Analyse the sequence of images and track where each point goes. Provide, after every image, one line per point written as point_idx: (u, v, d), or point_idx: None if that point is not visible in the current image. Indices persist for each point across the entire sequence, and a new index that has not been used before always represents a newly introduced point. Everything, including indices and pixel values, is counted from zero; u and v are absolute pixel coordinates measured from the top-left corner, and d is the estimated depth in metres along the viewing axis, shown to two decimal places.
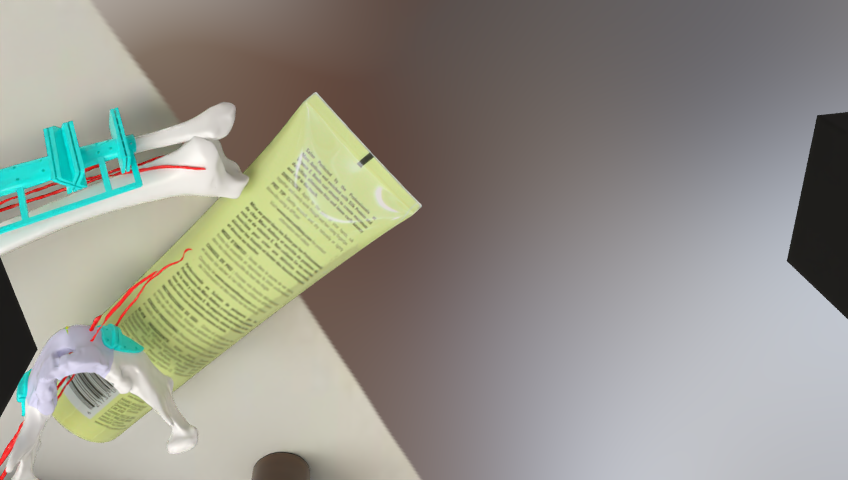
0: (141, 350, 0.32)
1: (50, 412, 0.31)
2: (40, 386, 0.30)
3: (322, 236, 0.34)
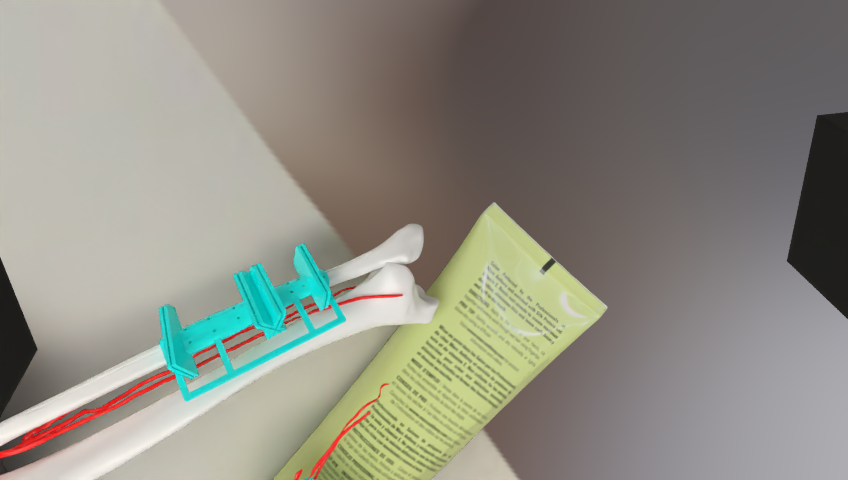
0: None
1: None
2: None
3: (514, 353, 0.32)
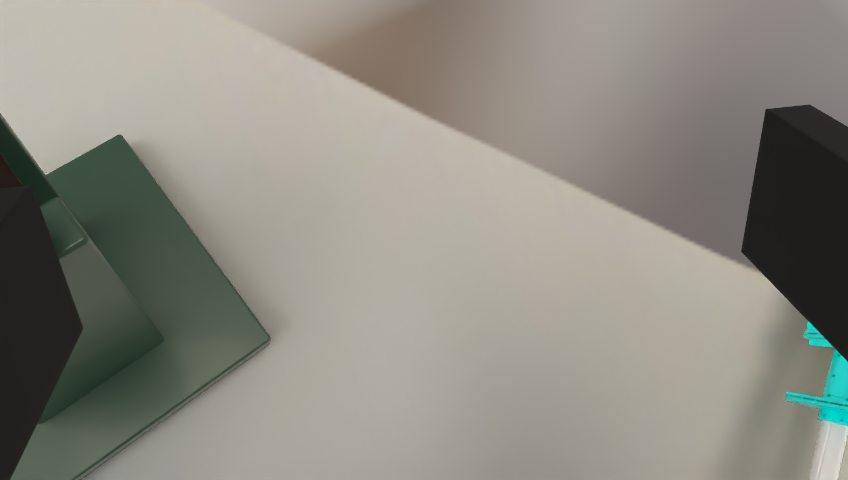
0: None
1: None
2: None
3: None
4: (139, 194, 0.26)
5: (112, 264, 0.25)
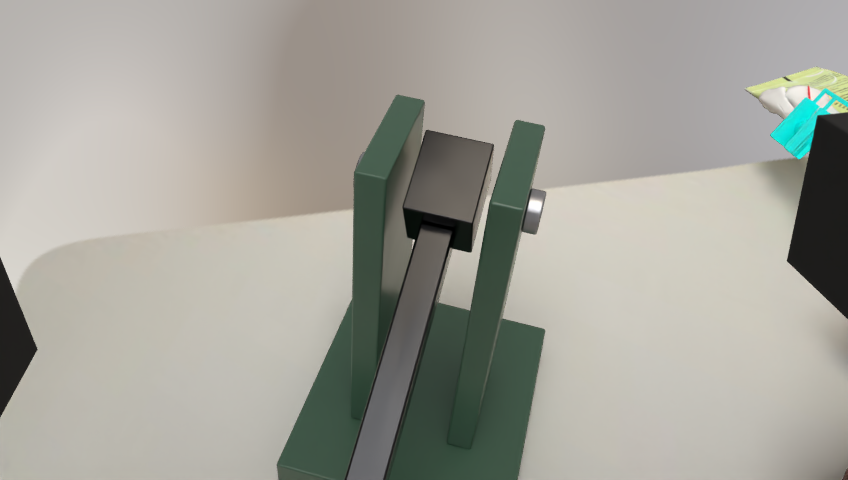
0: None
1: None
2: None
3: None
4: None
5: None
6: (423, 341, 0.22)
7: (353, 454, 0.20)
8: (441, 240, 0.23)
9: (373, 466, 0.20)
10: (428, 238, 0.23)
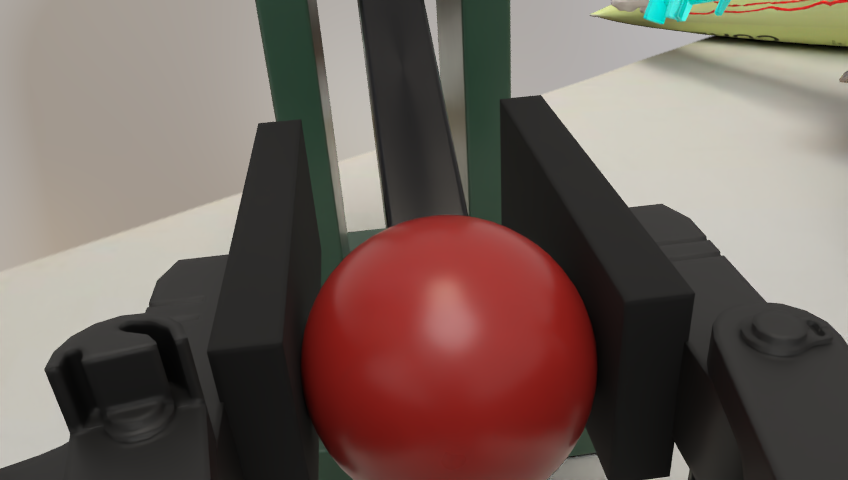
0: None
1: None
2: None
3: None
4: None
5: None
6: (426, 20, 0.12)
7: (387, 188, 0.10)
8: None
9: (434, 192, 0.10)
10: None
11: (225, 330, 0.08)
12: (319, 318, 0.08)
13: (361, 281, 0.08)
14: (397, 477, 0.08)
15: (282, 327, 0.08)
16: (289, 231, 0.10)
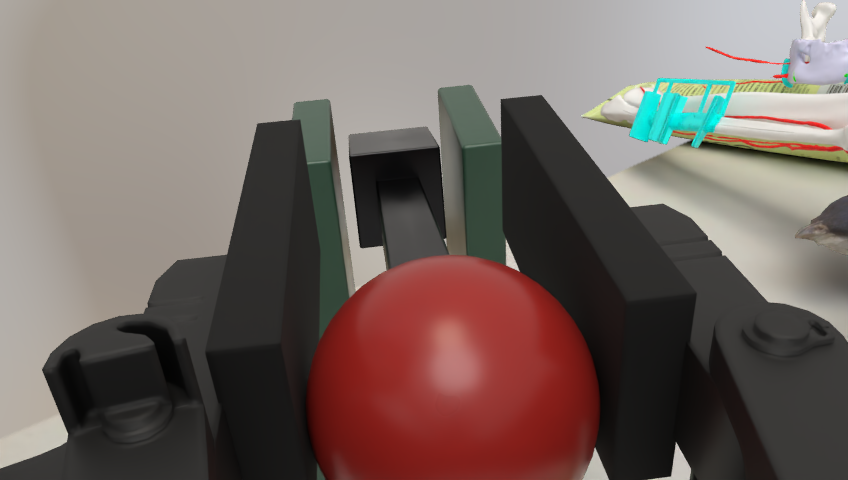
0: None
1: None
2: (831, 42, 0.41)
3: (666, 83, 0.53)
4: None
5: None
6: None
7: None
8: (408, 182, 0.18)
9: None
10: (392, 184, 0.18)
11: (223, 330, 0.08)
12: None
13: (363, 286, 0.09)
14: (393, 440, 0.08)
15: (281, 327, 0.08)
16: (287, 231, 0.10)
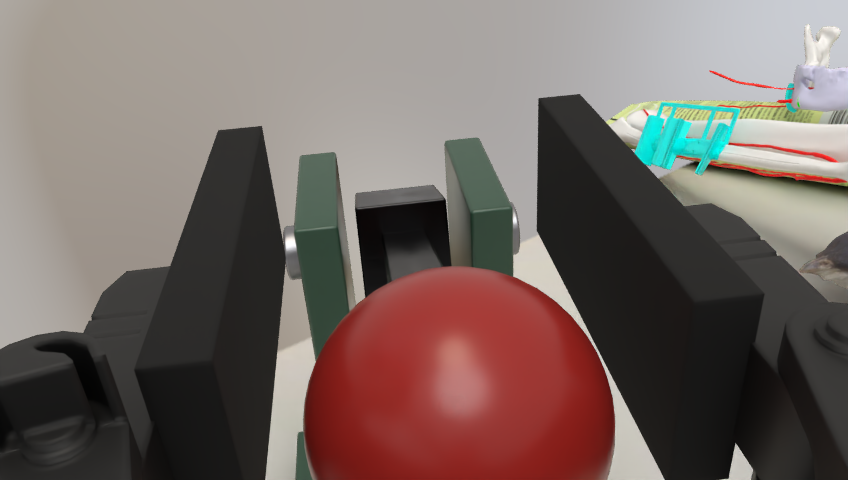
0: None
1: None
2: None
3: None
4: None
5: None
6: None
7: None
8: (415, 233, 0.18)
9: None
10: (398, 235, 0.18)
11: (156, 347, 0.08)
12: (325, 343, 0.09)
13: (365, 298, 0.09)
14: (393, 446, 0.07)
15: (214, 344, 0.08)
16: (234, 243, 0.09)
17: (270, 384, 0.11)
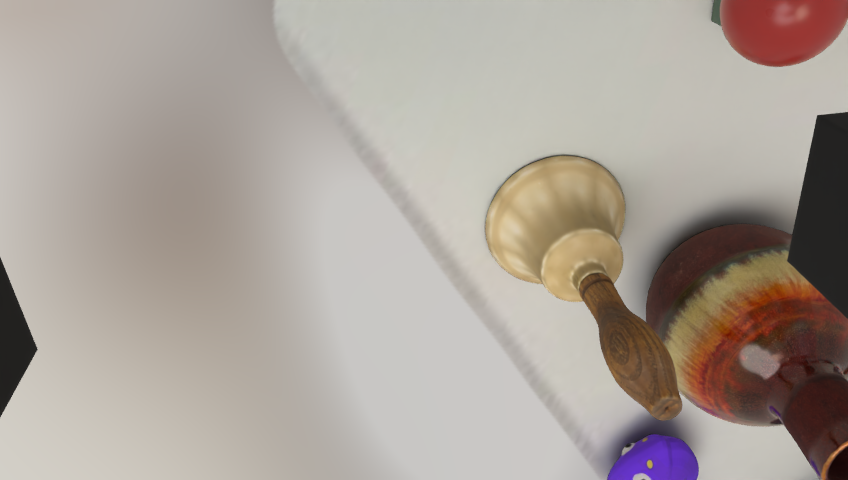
0: None
1: None
2: None
3: None
4: None
5: None
6: None
7: None
8: None
9: None
10: None
11: None
12: None
13: None
14: None
15: None
16: None
17: None
